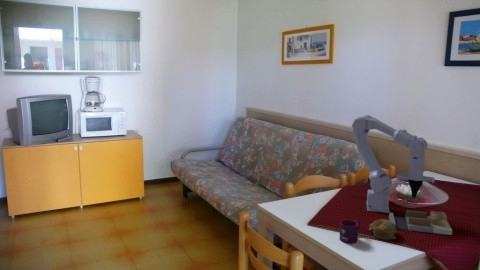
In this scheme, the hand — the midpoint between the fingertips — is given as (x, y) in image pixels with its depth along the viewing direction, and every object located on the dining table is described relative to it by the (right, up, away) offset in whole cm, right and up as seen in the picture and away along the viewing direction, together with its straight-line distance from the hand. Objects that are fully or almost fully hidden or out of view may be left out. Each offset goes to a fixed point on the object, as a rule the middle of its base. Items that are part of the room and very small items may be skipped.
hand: (413, 196), depth 160 cm
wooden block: (+6, -9, -9) cm, 14 cm away
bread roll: (-19, -13, -14) cm, 27 cm away
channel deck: (-1, -11, -6) cm, 12 cm away
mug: (-32, -13, -17) cm, 39 cm away
